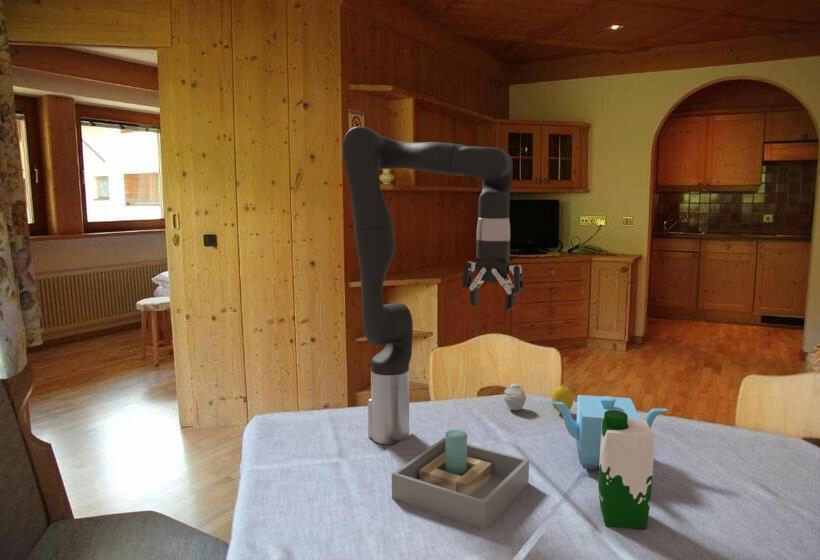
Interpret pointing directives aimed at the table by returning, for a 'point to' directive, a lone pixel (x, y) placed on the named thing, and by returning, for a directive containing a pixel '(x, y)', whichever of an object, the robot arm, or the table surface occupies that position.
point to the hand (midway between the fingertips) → (492, 308)
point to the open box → (471, 510)
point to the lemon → (562, 397)
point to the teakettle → (596, 423)
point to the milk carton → (625, 470)
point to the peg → (456, 452)
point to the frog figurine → (514, 397)
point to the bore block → (463, 484)
